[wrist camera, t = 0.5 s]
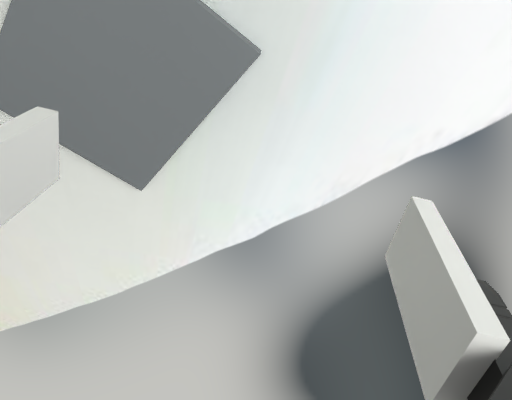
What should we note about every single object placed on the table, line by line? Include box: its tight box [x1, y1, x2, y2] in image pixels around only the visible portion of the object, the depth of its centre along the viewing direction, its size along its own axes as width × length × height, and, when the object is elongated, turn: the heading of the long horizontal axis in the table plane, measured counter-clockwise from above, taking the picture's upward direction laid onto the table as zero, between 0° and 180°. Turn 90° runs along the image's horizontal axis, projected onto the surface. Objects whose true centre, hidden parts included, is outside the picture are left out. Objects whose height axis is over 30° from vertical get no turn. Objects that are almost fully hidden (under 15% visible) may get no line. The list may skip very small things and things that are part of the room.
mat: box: [0, 0, 261, 191], centre depth 42 cm, size 24×20×1 cm
